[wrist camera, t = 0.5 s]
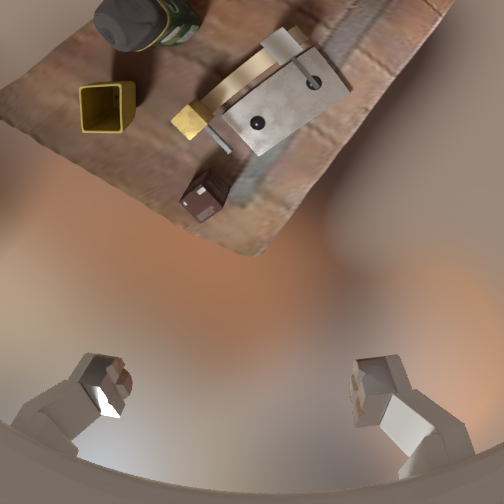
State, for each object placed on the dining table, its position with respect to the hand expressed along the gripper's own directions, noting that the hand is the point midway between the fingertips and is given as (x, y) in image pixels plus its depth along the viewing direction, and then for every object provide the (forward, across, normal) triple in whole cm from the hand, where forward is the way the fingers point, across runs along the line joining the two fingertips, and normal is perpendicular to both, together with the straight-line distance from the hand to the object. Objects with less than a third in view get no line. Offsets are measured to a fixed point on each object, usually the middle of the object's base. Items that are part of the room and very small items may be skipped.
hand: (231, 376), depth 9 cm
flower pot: (+46, +26, -16) cm, 55 cm away
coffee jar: (+42, +13, -28) cm, 52 cm away
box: (+51, +12, +4) cm, 52 cm away
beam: (+45, +1, -14) cm, 47 cm away
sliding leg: (+44, +9, -7) cm, 45 cm away
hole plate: (+46, -4, -11) cm, 47 cm away
